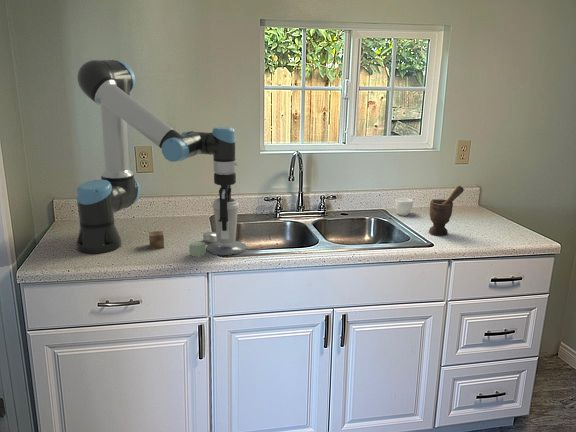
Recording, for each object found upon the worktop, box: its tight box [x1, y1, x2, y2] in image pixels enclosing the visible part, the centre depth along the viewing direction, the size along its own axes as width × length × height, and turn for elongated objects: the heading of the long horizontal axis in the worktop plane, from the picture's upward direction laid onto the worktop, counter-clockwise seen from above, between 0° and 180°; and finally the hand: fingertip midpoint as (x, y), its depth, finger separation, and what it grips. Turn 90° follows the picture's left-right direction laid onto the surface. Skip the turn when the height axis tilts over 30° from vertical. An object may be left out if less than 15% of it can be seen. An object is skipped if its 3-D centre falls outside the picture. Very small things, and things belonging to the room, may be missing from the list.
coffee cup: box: [211, 197, 240, 244], centre depth 189 cm, size 10×10×15 cm
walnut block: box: [148, 230, 165, 250], centre depth 193 cm, size 5×5×5 cm
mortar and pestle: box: [428, 185, 465, 237], centre depth 209 cm, size 12×9×20 cm
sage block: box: [188, 240, 207, 258], centre depth 185 cm, size 4×4×4 cm
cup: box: [394, 197, 414, 217], centre depth 237 cm, size 8×10×7 cm
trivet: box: [206, 240, 247, 256], centre depth 191 cm, size 14×14×1 cm
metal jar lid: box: [202, 231, 217, 245], centre depth 199 cm, size 5×5×3 cm
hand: (226, 234), depth 190 cm, fingers closed on coffee cup, 8 cm apart
